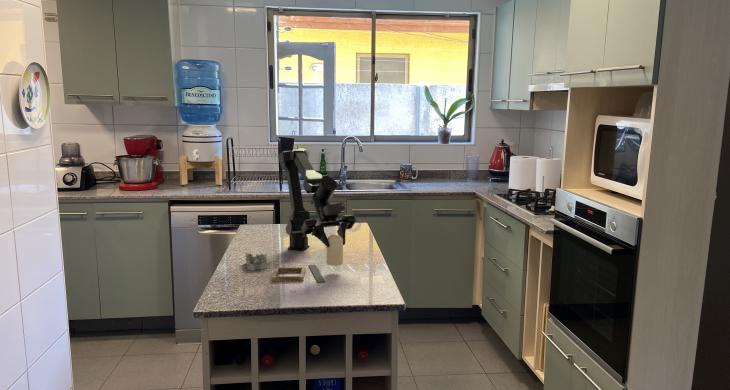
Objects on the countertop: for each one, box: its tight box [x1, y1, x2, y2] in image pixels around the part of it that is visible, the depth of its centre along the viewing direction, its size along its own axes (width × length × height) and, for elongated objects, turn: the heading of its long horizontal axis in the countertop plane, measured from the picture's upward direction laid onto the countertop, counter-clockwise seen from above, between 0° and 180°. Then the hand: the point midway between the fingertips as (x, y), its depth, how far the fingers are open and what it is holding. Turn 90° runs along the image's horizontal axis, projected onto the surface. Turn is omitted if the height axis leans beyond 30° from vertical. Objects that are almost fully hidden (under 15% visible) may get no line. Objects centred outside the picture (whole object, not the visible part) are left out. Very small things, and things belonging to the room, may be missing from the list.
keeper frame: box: [271, 266, 306, 283], centre depth 172 cm, size 10×10×2 cm
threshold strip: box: [308, 264, 326, 284], centre depth 174 cm, size 18×2×1 cm, turn 16°
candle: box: [326, 233, 344, 267], centre depth 174 cm, size 6×6×10 cm
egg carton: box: [245, 252, 268, 271], centre depth 183 cm, size 11×8×4 cm
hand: (336, 245), depth 173 cm, fingers closed on candle, 5 cm apart
